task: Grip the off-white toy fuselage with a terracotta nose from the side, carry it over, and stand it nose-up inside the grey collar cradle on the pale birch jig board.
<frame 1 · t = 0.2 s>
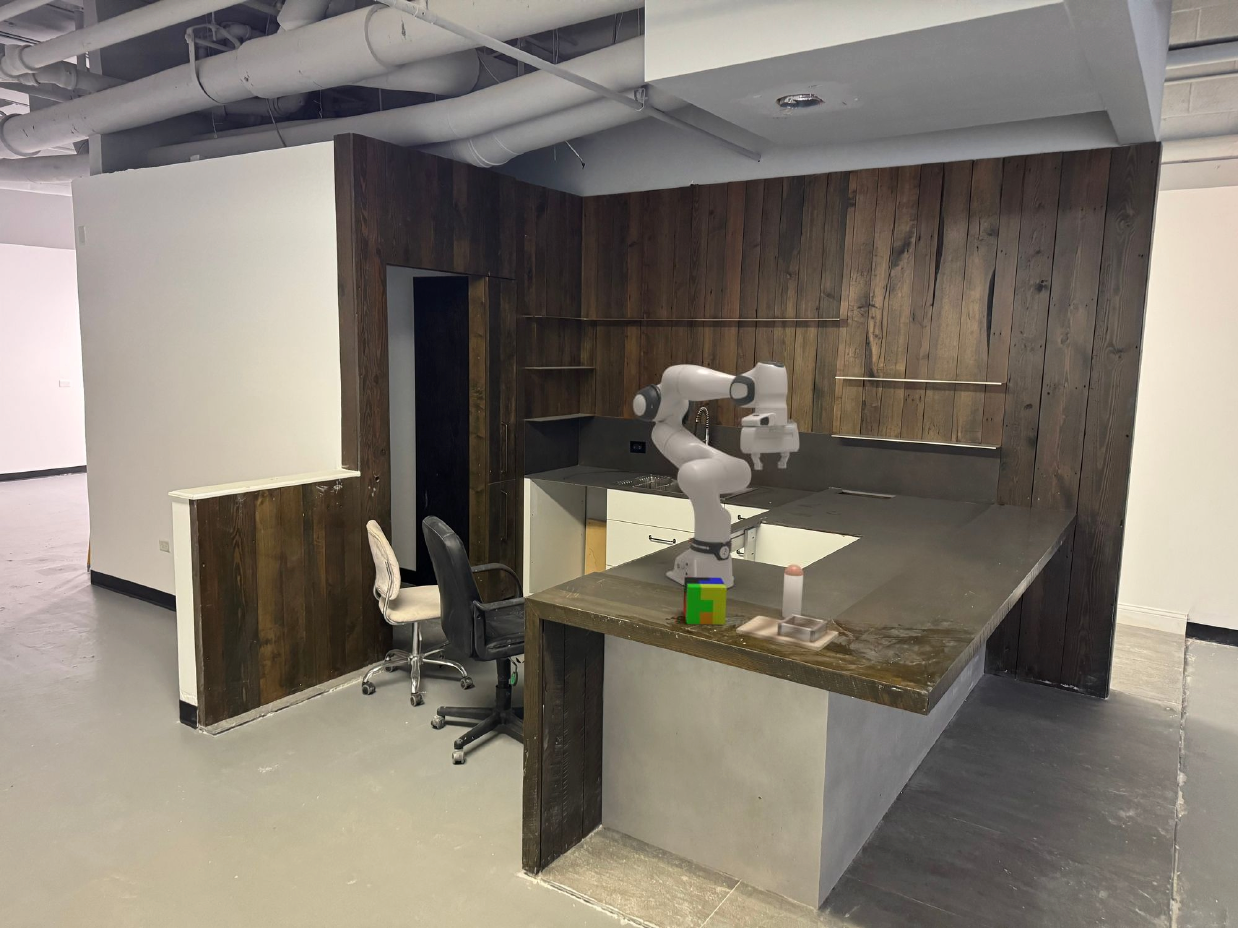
hand: (770, 468, 239), 39 cm above the countertop, tool pointing down, fingers open, 8 cm apart
puzzle toy: (703, 619, 230), on the countertop
fuselage: (791, 616, 233), on the countertop
jig cradle: (787, 634, 218), on the countertop
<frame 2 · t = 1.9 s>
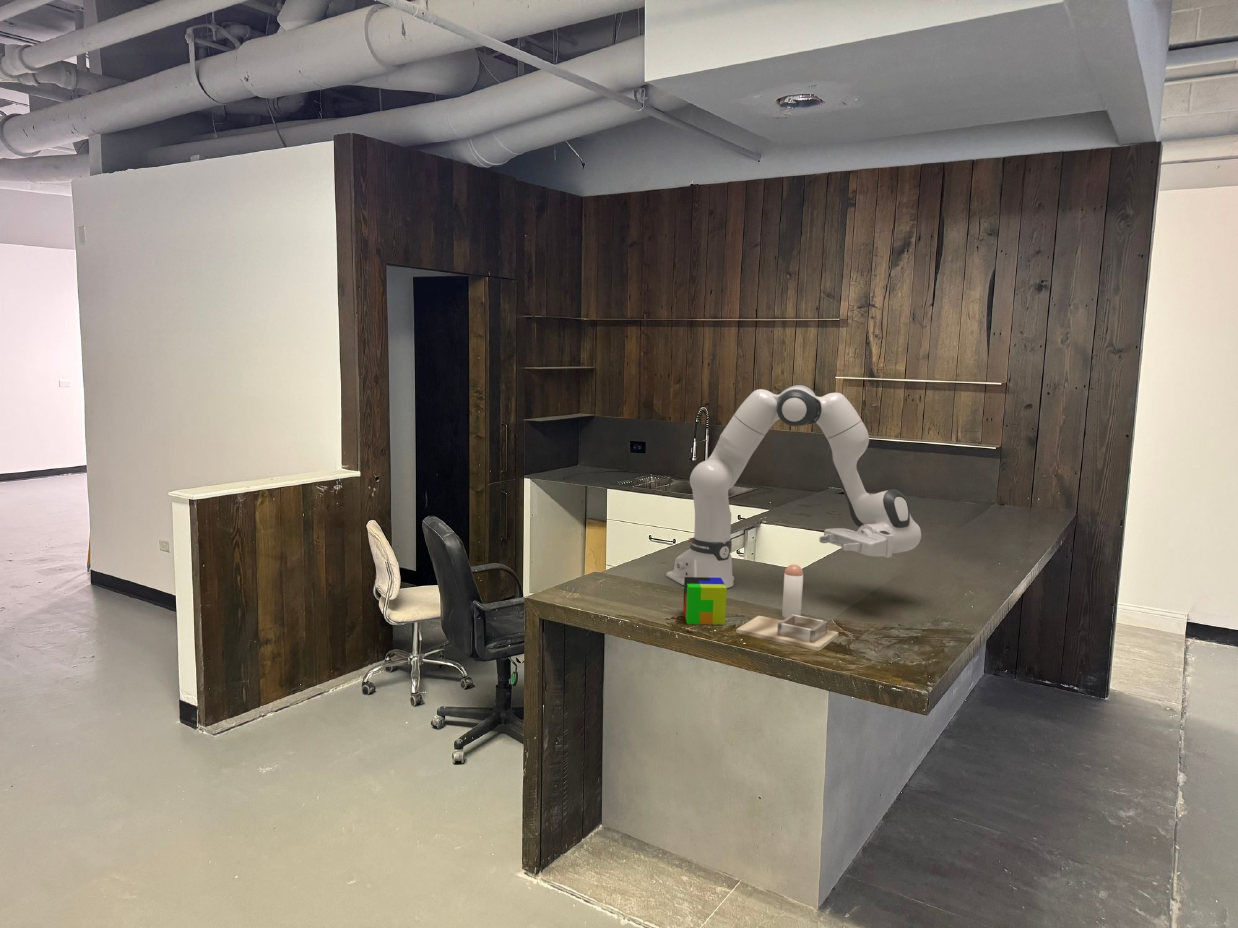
hand: (831, 543, 236), 20 cm above the countertop, tool horizontal, fingers open, 8 cm apart
nothing on the countertop moved.
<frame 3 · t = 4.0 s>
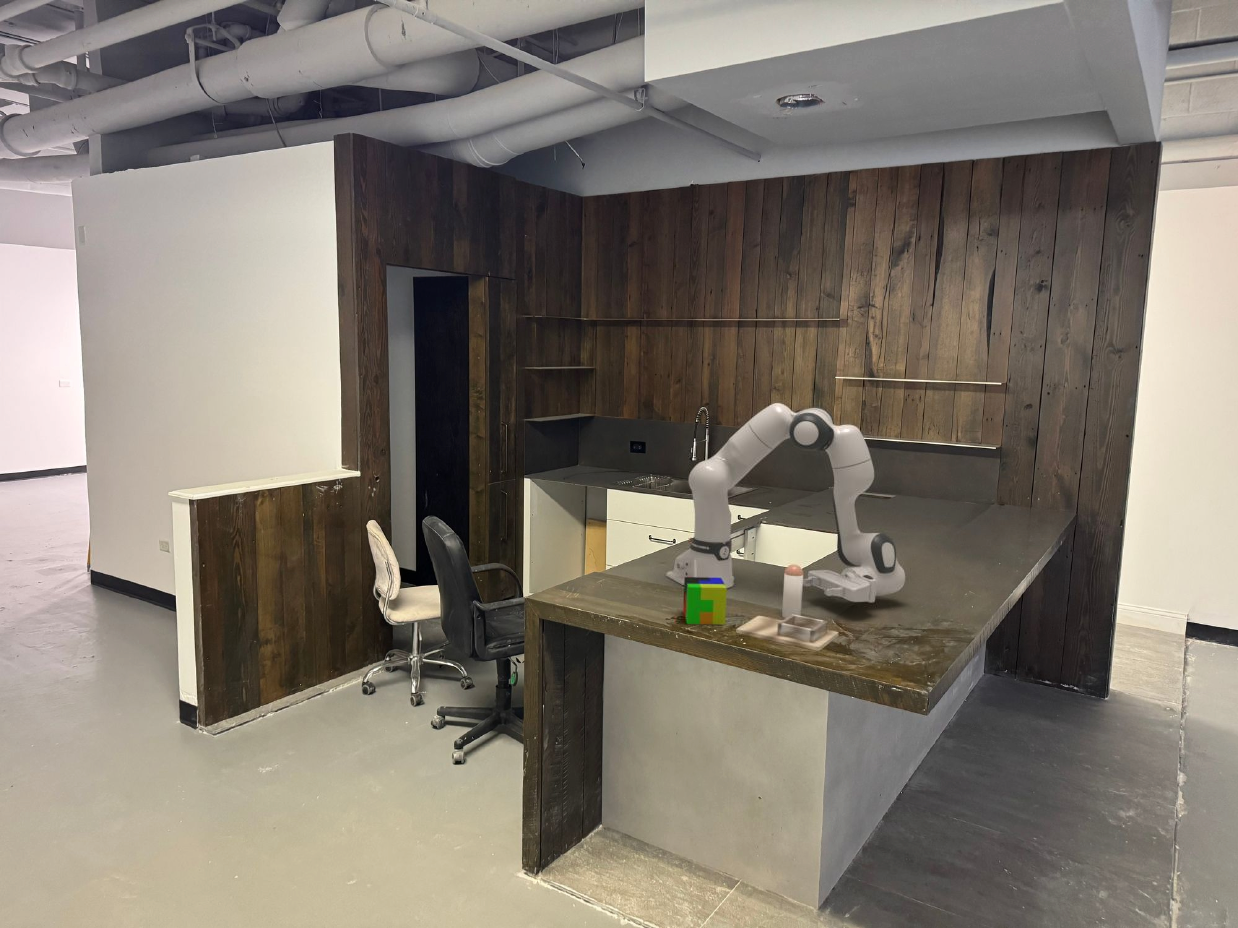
hand: (815, 587, 236), 7 cm above the countertop, tool horizontal, fingers open, 8 cm apart
nothing on the countertop moved.
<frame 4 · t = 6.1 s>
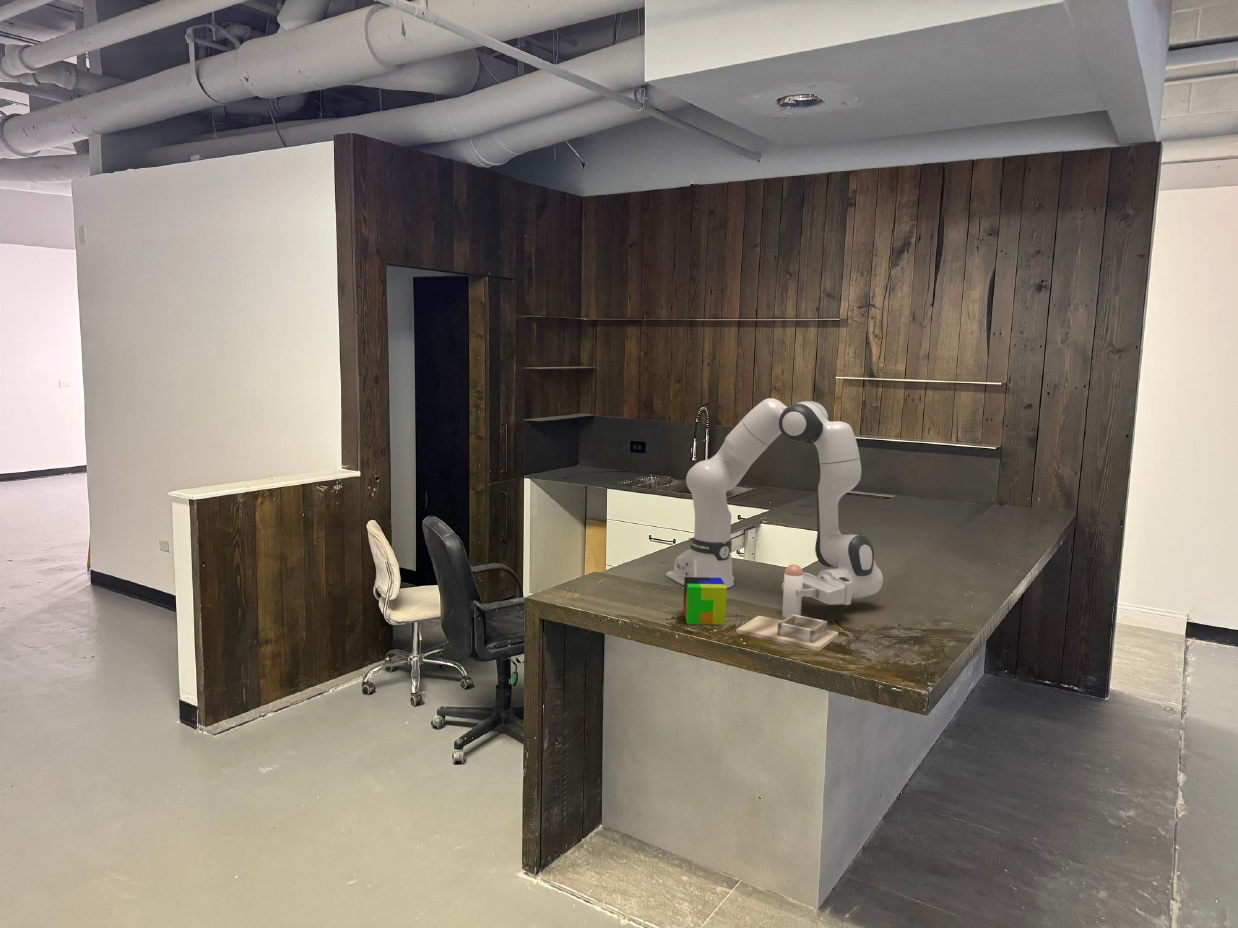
hand: (790, 589, 232), 8 cm above the countertop, tool horizontal, fingers closed on fuselage, 5 cm apart
fuselage: (791, 616, 233), on the countertop, touching gripper
everything else where it was.
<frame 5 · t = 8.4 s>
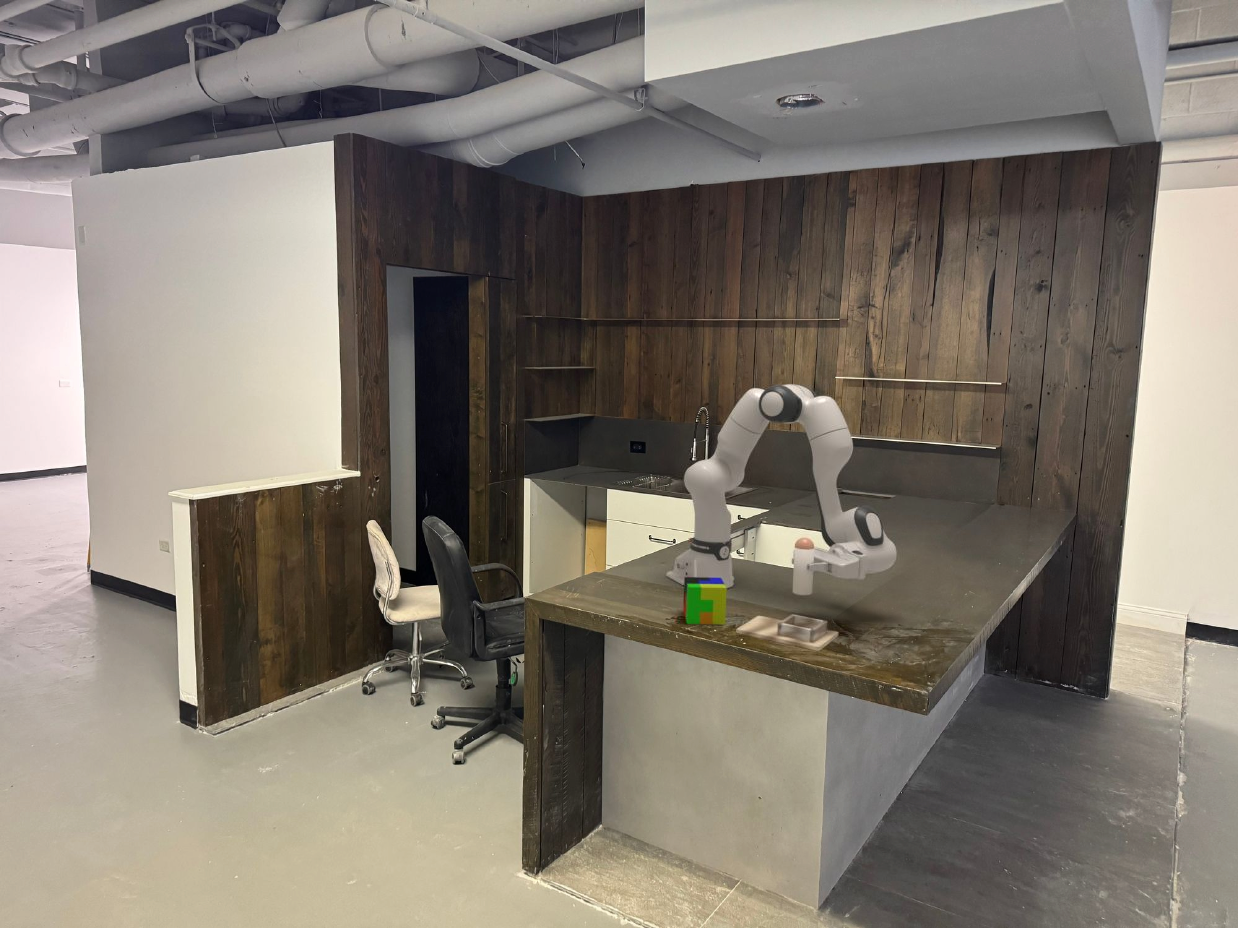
hand: (800, 564, 220), 17 cm above the countertop, tool horizontal, fingers closed on fuselage, 5 cm apart
fuselage: (802, 592, 222), point 10 cm above the countertop, touching gripper
everything else where it was.
when the fingers open (9 cm above the countertop, at t = 10.7 s): fuselage stays where it is, resting on jig cradle.
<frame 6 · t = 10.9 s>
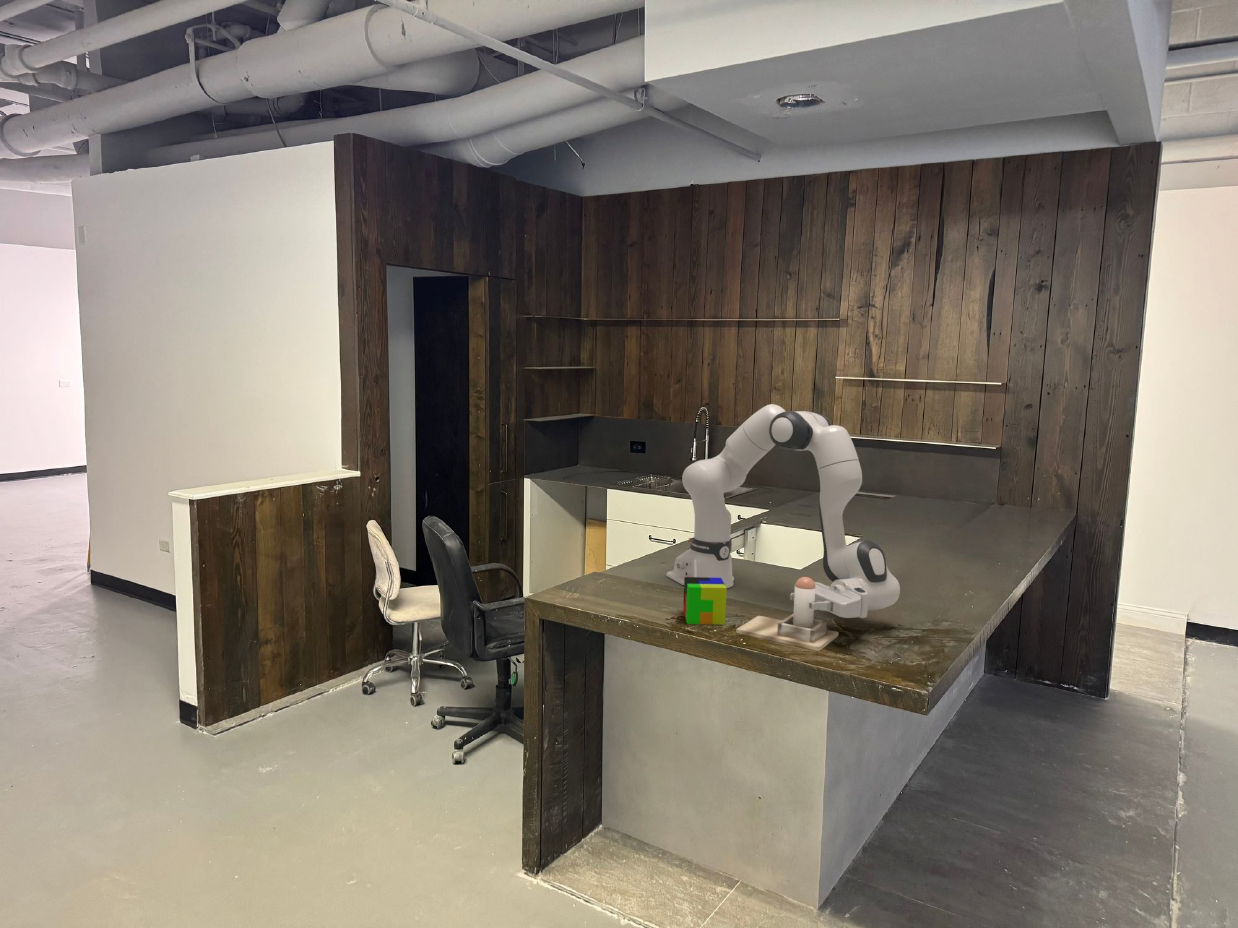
hand: (801, 601, 215), 9 cm above the countertop, tool horizontal, fingers open, 6 cm apart
fuselage: (802, 633, 216), point 1 cm above the countertop, touching jig cradle
everything else where it was.
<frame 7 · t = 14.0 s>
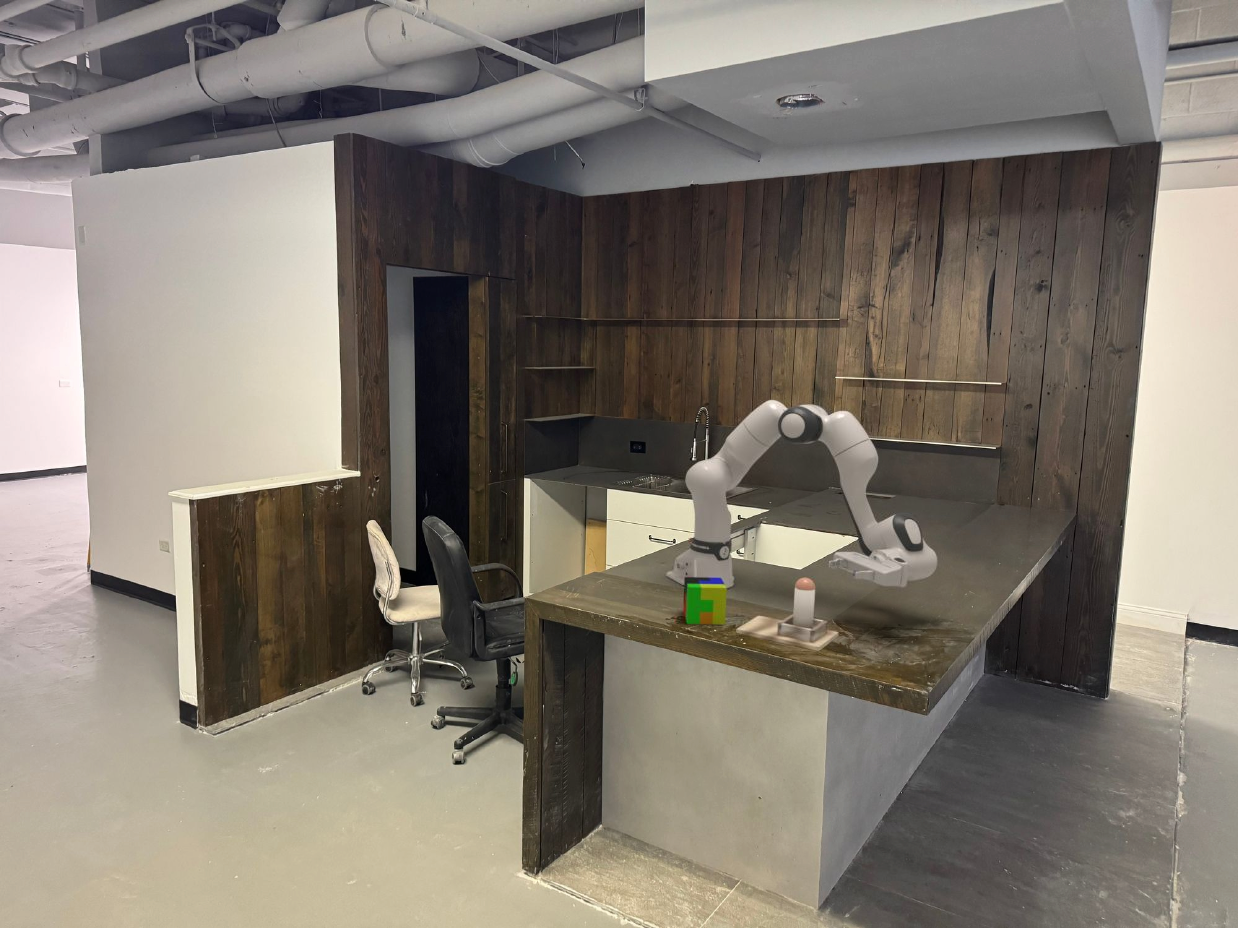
hand: (842, 569, 219), 16 cm above the countertop, tool horizontal, fingers open, 8 cm apart
nothing on the countertop moved.
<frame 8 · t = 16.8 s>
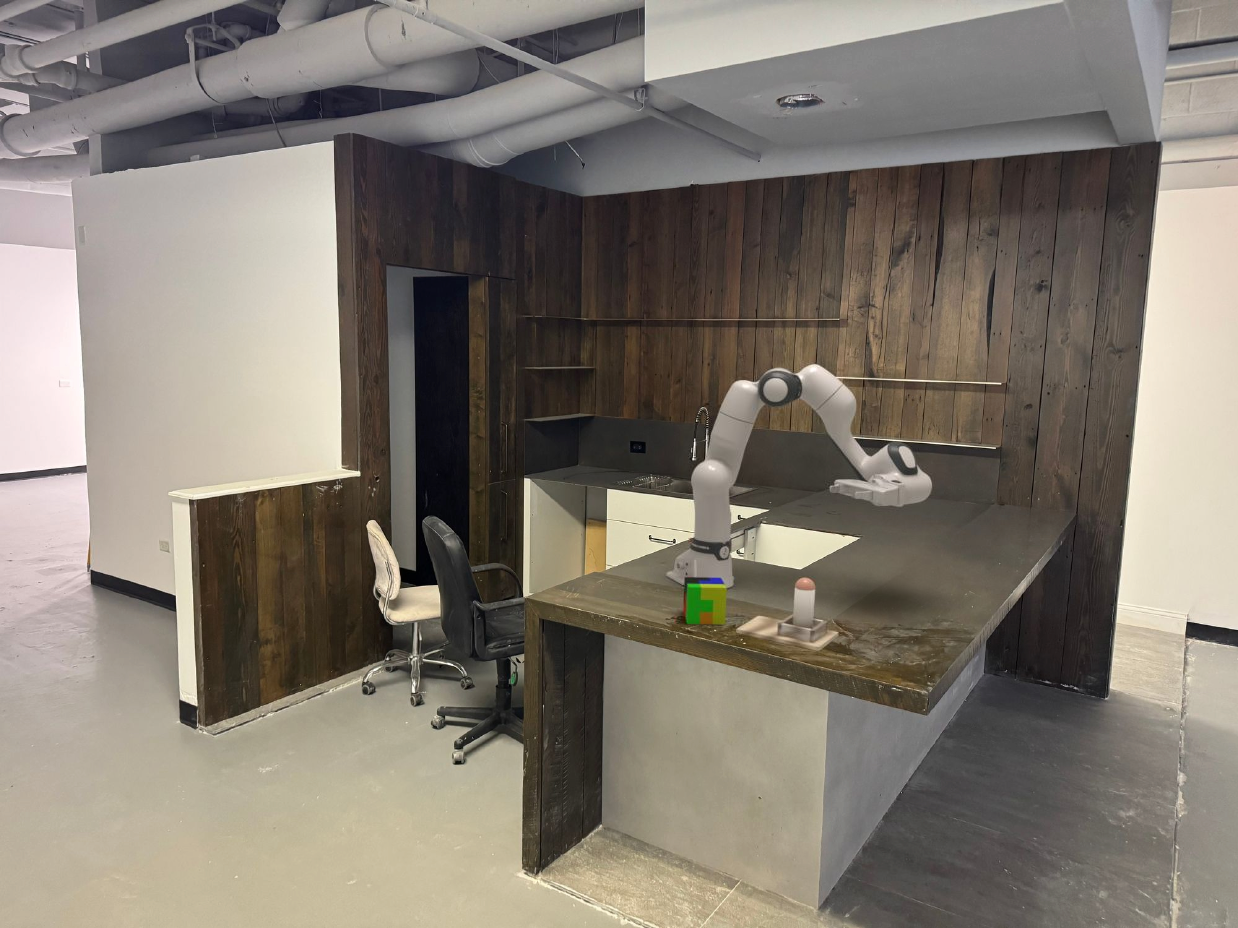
hand: (842, 492, 233), 34 cm above the countertop, tool horizontal, fingers open, 8 cm apart
nothing on the countertop moved.
at the end: fuselage 0.0 cm from the target spot on the jig cradle, point 1.0 cm above the jig cradle's base; fuselage tilted 0°; the gripper is holding nothing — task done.
